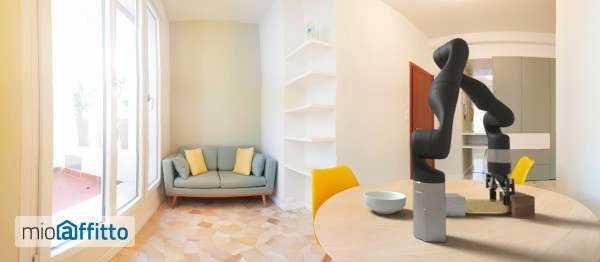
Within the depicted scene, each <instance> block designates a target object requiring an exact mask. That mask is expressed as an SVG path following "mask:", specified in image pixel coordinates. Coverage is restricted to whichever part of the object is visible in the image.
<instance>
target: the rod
mask: <svg viewBox="0 0 600 262" xmlns="http://www.w3.org/2000/svg"><path fill="white" fill-rule="evenodd" d="M465 213H500V214H501V213H503V214H505V213H512V208H511V200H510V206H505V205H503V200H499V199H497V198H496V199H490V198H489V199H487V198H485V199H481V198H480V199H473V198H472V199H471V198H465Z"/></svg>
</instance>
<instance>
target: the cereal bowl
mask: <svg viewBox="0 0 600 262" xmlns="http://www.w3.org/2000/svg"><path fill="white" fill-rule="evenodd" d="M363 202H364V204H365V205H366V206H367V208H369V209H370V210H373V211H374V212H375V213H376V212H377V213H376V214H381V215H392V214H394V213H396V212H399V211H401V210H403V209H404V208H405V206H406V203H407V196H406V195H405V194H404V193H401V192H396V191H388V190H369V191H365V192H363Z"/></svg>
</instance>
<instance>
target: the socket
mask: <svg viewBox="0 0 600 262" xmlns="http://www.w3.org/2000/svg"><path fill="white" fill-rule="evenodd" d="M505 192H506V190H505ZM498 195H499V198H498V200H503V193H502V191H501V190H499V191H498ZM510 200H511V208H512V213H504V214H505V215H507V216H510V217H512V218H514V219H535V218H536V213H535V212H536V210H535V209H536V208H535V207H536V206H535V205H536V202H535V200H536V199H535V196H533V195H530V194H527V193H524V192H520V191H517V190H515V195H511V196H510Z"/></svg>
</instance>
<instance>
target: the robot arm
mask: <svg viewBox="0 0 600 262" xmlns="http://www.w3.org/2000/svg"><path fill="white" fill-rule="evenodd" d="M469 57H470V48H469V45H468V42H467V41H466V40H465V39H464V38H461V37H456V38H453V39H451V40H449V41H447V42H446V43H444V44H443V45H441V46H440V47H438V48H436V49H434V51H433V53H432V59H433V61H434V63H435V64H436V65H435V66H437V67H438V68H439V70H440V71H439V73H438V74H437V75H436V76H435V78H434V79H433V81H432V83H431V84H430V86H429V90H428V95H427V104H428V107H429V108H430V110H431V112H432V113H433V114H434V115H435V117H436V118H437V121H438V124H439V125H438V127H437V129H436V128H434V129H430V128H429V129H428V128H427V129H424V128H423V129H415V130H413V131H412V132H411V135H410V140H409V141H410V143H409V145H410V146H409V148H410V159H411V161H410V162H411V174H412V209H413V210H412V213H413V214H412V216H413V217H412V219H413V221H412V222H413V226H412V227H413V228H412V229H413V230H412V231H413V236H414V237H415V238H417V239H418V240H419V239H420V240H423V242H431V243H432V242H433V243H434V242H435V243H437V242H438V243H446V242H447V216H446V194H445V193H447V192H446V173H445V172H444V171H442V170H440V169H437V168H436V167H433V166H431V165H430V164H429V163H428V161H427V160H445V159H447V158H448V157H449V154H450V151H451V147H452V137H453V130H454V129H453V128H454V119H455V114H456V108H457V104H458V99H459V95H460V90H462V91H463V92H464V93H465V94H466V95H467V97H468V98H469V100H470V101H471V102H472V103H473V105H474V106H475V107H476V108H477V109H478V110H479V111H483V112H485V113H484V115H483V118H482V124H483V128H484V132H485V134H486V138H487V154H486V156H487V157H486V158H487V159H486V161H487V162H486V164H487V165H486V166H487V168H486V169H487V173H486V174H485V189H488V191H489V199H496V200H497V189H499V191H502V193H503V205H505V206H510V196H511V195H515V191H516V189H515V188H516V187H515V186H516V185H515V179H514V178H513V177H512V178H511V177H508V176H509V175H511V174H512V154H511V138H510V136H509V134H506V133H504V132H502V129H501V128H509V127H511V126H512V125H514V123H515V120H516V117H515V114H514V112H513V111H512V110H511V108H510V107H509V106H508V105H506V104H505V103H503V102H502V101H501V100H499V99H498V98H497V97H496V96H495V94H494V93H493V92H492V91H491V89H490V88H489V87H488V86H487V84H485V83H484V82H482V81H481V80H480V79H479V80H478V79H476V78H474V77H472V76H469V75H468V74H465V73H464V71H465V68H466V66H467V63H468V60H469ZM505 191H506V192H505Z"/></svg>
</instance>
